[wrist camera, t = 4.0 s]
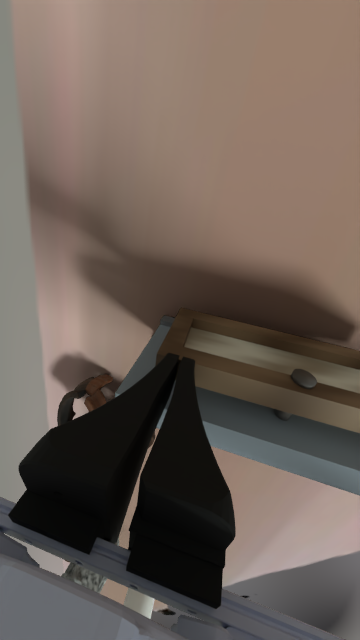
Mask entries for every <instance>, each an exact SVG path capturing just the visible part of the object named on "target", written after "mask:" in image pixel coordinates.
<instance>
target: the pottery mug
mask: <svg viewBox="0 0 360 640" xmlns="http://www.w3.org/2000/svg"><path fill="white" fill-rule="evenodd" d="M112 380H113V378H112V377H111V376H109V375H107V374H104V375H99V376H98V377H96V378H94V377H91V378H89V379H87V380H85V381H83V382H82V383H80V384H79V385H78V386H77V387H76V388H75V390H74V391H71V392H69V393H67V394H66V395H65V396H64V397H63V399H62V401H61V402H60V405H59V409H58V417H57V421H58V426H60V425H62V424H64V423H67V422H69V421H71V420H72V419H73V417H74V415H75V412H74V411H73V402H74V398H77V399H79V398H81V397H83V396H84V395H85V394H86V393H87V394H88V395H90V397H87V398H86V400H85V402H84V404H85V405H86V407H87V409H88V410H89V412H90V411H92V410H94V409H96V408H98V407H100V406H102V405H104V404H105V403H106V400H105V397H104V395H103V393H102V392H101V391H100V389H101V388H102V387H103V386H104V385H106V384H108V383H110V382H112ZM154 439H155V431H154V433H153V436H152V438H151V441H150V443H149V446H148V448H149V447H150V446H151V445H152V444H153V442H154Z"/></svg>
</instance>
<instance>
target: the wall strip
mask: <svg viewBox="0 0 360 640" xmlns="http://www.w3.org/2000/svg"><path fill="white" fill-rule="evenodd" d="M174 320H175V318H173V317H169V316H165V315H164V316H163V317H162V319H161V322H160V326H159V327H158V329H157V330H156V332H155V333H154V335H153V336H152V338H151V339H150V341H149V342H148V344H147V345H146V347H145V348H144V350H143V351H142V353H141V355H140V356H139V358H138V359H137V361H136V362H135V364H134V365H133V367H132V368H131V370H130V371H129V373H128V374H127V376H126V377H125V379H124V380H123V382H122V383H121V385H120V386H119V388H118V390H117V391H116V393H115V397H117V396H119V395H120V394H122V393H123V392H124V391H126V390H127V389H129V388H130V387H131V386H133V385H134V384H135V383H137V382H138V381H139V380H140V379H142V378H143V377H144V376H145V375H146V374H147V373H149V372H150V371H151V370H152V369H153V368H154V367H155V364H156V356H157V352H158V350H159V348H160V346H161V344H162V342H163V341H164V339H165V337H166V335H167V333H168V331H169V329H170V327H171V325H172V324H173V322H174ZM175 382H176V380H175ZM175 382H174V385H173V388H172V391H171V394H170V397H169V400H168V402H167V404H166V407H165V409H164V411H163V413H162V416H161V418H160V420H159V422H158V424H157V427H156V428H159V429H160V427H161V425H162V422H163V420H164V417H165V415H166V412H167V409H168V407H169V404H170V401H171V398H172V395H173V391H174V387H175ZM195 387H196V386H195ZM196 395H197V400H198V405H199V410H200V414H201V418H202V422H203V425H204V428H205V432H206V435H207V438H208V440H209V443H210V446H213V447H216V448H219V449H222V450H225V451H228V452H231V453H234V454H237V455H240V456H243V457H246V458H249V459H252V460H255V461H258V462H261V463H264V464H267V465H270V466H273V467H276V468H279V469H282V470H285V471H288V472H291V473H294V474H297V475H300V476H303V477H306V478H309V479H312V480H315V481H318V482H321V483H324V484H327V485H330V486H333V487H336V488H339V489H342V490H345V491H348V492H351V493H354V494H357V495H360V433H357V432H353V431H350V430H346V429H343V428H339V427H336V426H333V425H329V424H326V423H322V422H319V421H315V420H312V419H308V418H305V417H301V416H298V415H294V414H292V415H291V417H290V418H289V420H287V421H283V420H281V419H279V418H278V417H277V416H276V415H275V413H274V409H273V408H270V407H266V406H263V405H259V404H256V403H252V402H249V401H245V400H242V399H238V398H235V397H231V396H228V395H224V394H221V393H217V392H214V391H210V390H207V389H203V388H200V387H196Z"/></svg>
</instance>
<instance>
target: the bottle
mask: <svg viewBox="0 0 360 640" xmlns="http://www.w3.org/2000/svg"><path fill="white" fill-rule="evenodd" d="M154 600H155V599H154V598H151V597H149V596H147V595H145V594H142V593H140V592H138V591H135V590H133V589H131V588H129V587H128V591H127V594H126V598H125V601H124V606H126V607H128V608H130V609H132V610H134V611H136V612H138V613H140V614H141V615H143V616H145V617H147V618H149V619H150V618H151V613H152V609H153V605H154Z"/></svg>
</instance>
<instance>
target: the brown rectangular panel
mask: <svg viewBox="0 0 360 640" xmlns="http://www.w3.org/2000/svg"><path fill="white" fill-rule="evenodd" d="M167 353H173V354H176V355H180V356H179V361H178V366H177V371H176V376H175V380H176V378H177V374H178V369H179V365H180V363H181V360H182V358H183V357H187V358H191V359H194V360H195V368H194V375H195V386H196V387H200V388H203V389H207V390H210V391H214V392H217V393H221V394H224V395H228V396H231V397H235V398H238V399H242V400H245V401H249V402H252V403H256V404H259V405H263V406H266V407H270V408H273V409H274V413H275V415H276V416H277V417H278V418H279V419H281V420H283V421H287V420H289V418H290V417H291V415H292V414H294V415H298V416H301V417H305V418H308V419H312V420H315V421H319V422H322V423H326V424H329V425H333V426H336V427H339V428H343V429H346V430H350V431H353V432H357V433H360V351H357V350H353V349H349V348H345V347H341V346H337V345H333V344H329V343H324V342H320V341H316V340H312V339H308V338H304V337H300V336H296V335H292V334H287V333H283V332H279V331H275V330H271V329H267V328H263V327H259V326H255V325H250V324H246V323H242V322H238V321H234V320H230V319H226V318H222V317H217V316H213V315H209V314H205V313H201V312H197V311H193V310H189V309H185V308H180V310H179V312H178V314H177V316H176V318H175V320H174V322H173V324H172V325H171V327H170V329H169V331H168V333H167V335H166V337H165V339H164V341H163V342H162V344H161V346H160V348H159V350H158V352H157V356H156V364H155V366H156V365H157V364H158V363H159V362H160V361H161V360H162V359H163V358H164V357H165V356H166V354H167Z"/></svg>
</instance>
